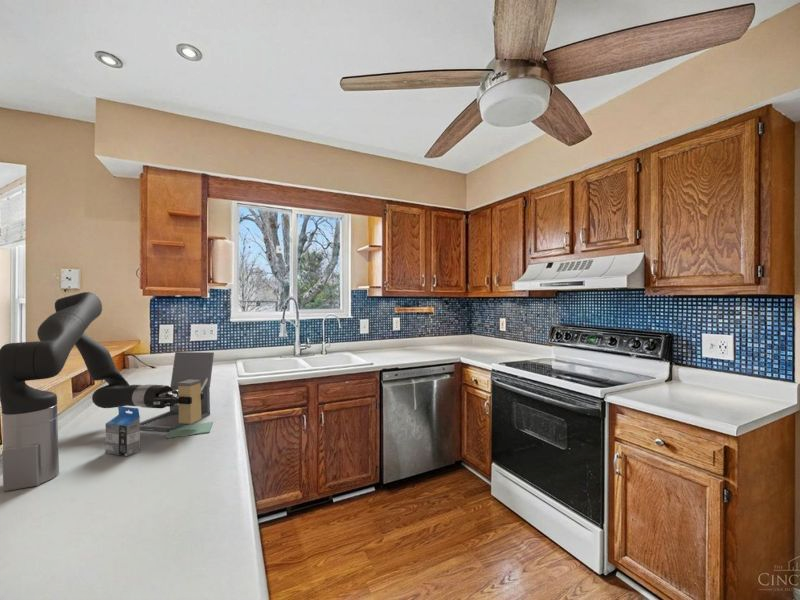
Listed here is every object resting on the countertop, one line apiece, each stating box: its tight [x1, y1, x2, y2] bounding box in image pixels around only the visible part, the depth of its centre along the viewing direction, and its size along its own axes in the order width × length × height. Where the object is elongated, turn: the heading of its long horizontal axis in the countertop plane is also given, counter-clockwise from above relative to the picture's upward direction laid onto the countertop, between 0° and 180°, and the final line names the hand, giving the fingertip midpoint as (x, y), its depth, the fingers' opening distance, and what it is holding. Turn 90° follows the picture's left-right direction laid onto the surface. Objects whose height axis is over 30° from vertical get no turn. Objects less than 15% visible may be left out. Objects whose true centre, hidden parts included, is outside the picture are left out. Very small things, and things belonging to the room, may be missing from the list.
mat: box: [165, 421, 214, 439], centre depth 116 cm, size 10×12×1 cm
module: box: [178, 379, 202, 425], centre depth 116 cm, size 5×5×13 cm
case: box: [140, 351, 215, 431], centre depth 127 cm, size 20×16×23 cm
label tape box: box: [104, 406, 141, 457], centre depth 100 cm, size 9×4×12 cm, turn 72°
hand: (196, 398), depth 116 cm, fingers closed on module, 4 cm apart
